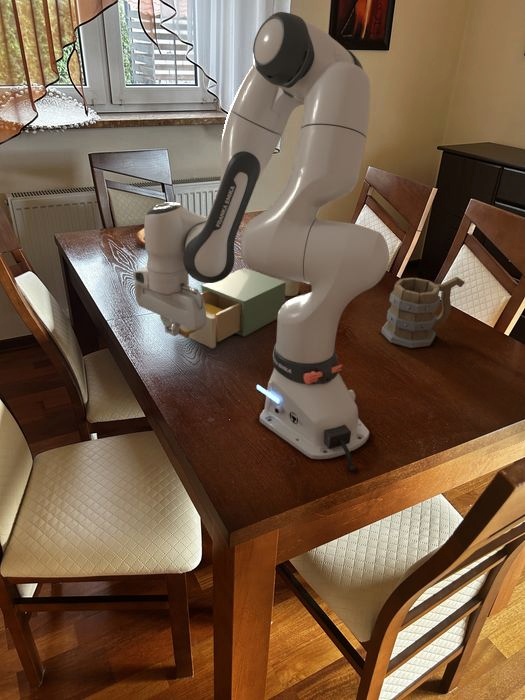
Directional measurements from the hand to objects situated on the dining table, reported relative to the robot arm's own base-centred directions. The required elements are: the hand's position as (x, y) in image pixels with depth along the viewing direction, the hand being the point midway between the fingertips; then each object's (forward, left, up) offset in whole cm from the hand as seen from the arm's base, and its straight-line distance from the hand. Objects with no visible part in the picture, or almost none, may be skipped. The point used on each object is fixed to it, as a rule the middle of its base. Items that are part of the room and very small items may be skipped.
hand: (172, 333), depth 123 cm
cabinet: (+9, -24, -5) cm, 26 cm away
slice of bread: (+83, -26, -5) cm, 87 cm away
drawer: (+4, -11, -4) cm, 12 cm away
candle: (+17, -44, -5) cm, 47 cm away
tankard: (-21, -60, -5) cm, 64 cm away
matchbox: (+4, -12, -3) cm, 13 cm away
